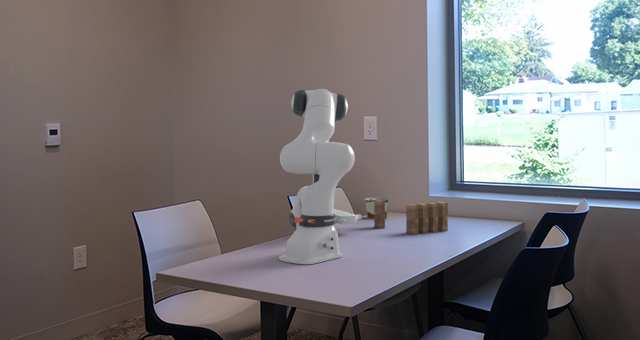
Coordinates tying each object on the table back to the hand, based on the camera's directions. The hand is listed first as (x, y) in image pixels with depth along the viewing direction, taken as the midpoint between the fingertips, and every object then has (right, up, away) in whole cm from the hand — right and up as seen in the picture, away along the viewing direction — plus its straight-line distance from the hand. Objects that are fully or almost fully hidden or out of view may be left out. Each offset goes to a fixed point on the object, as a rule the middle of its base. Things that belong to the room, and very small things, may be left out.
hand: (355, 215), depth 230 cm
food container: (+13, -5, +32) cm, 35 cm away
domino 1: (+11, -6, +5) cm, 14 cm away
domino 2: (+23, -7, -9) cm, 26 cm away
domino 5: (+37, -6, -3) cm, 37 cm away
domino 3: (+28, -7, -7) cm, 29 cm away
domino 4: (+32, -7, -5) cm, 33 cm away
